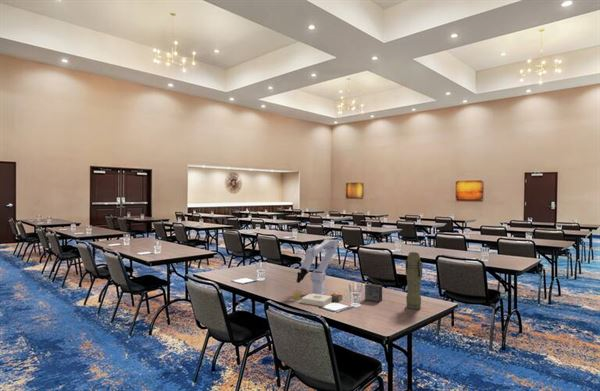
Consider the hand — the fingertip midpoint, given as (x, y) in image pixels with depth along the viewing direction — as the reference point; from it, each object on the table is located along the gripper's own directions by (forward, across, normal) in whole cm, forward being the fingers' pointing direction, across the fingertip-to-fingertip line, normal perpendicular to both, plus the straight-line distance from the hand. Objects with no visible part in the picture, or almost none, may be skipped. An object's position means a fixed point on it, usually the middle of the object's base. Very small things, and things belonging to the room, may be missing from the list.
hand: (299, 281), depth 244 cm
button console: (-1, -2, +28) cm, 29 cm away
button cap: (-2, -2, +28) cm, 28 cm away
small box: (-10, +4, +52) cm, 53 cm away
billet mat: (+10, -8, +5) cm, 14 cm away
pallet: (+7, -1, +17) cm, 18 cm away
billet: (+10, -8, +5) cm, 13 cm away
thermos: (-12, +23, +71) cm, 76 cm away
